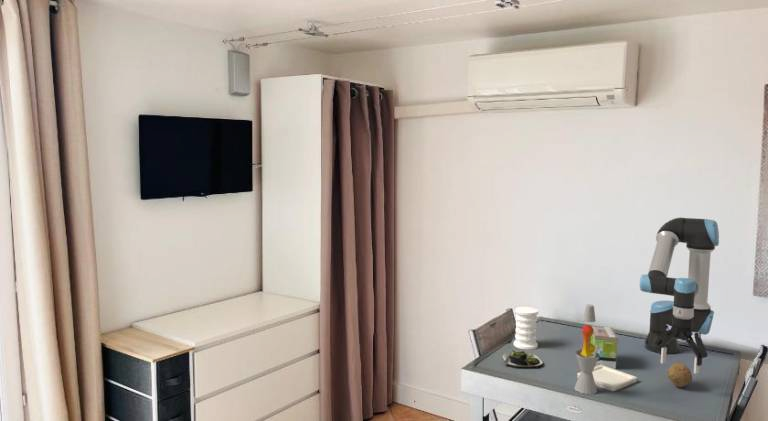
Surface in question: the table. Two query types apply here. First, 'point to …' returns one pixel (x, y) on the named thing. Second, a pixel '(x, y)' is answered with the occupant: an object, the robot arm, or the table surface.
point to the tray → (611, 378)
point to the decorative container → (526, 328)
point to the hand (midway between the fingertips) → (679, 367)
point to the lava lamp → (587, 356)
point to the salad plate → (522, 360)
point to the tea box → (605, 346)
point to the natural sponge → (679, 374)
